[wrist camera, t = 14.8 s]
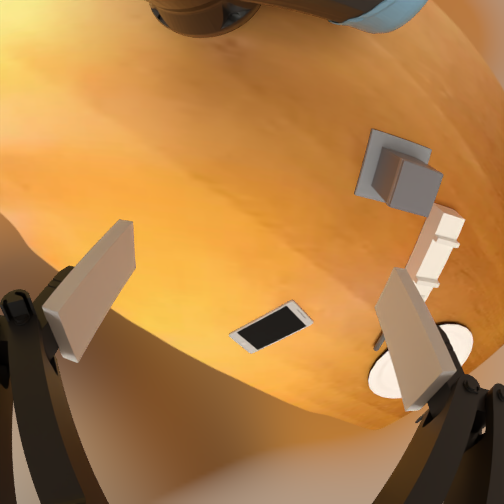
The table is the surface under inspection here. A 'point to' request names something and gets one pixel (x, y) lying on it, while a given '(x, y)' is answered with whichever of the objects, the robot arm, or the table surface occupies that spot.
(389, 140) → the mat
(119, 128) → the table surface
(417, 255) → the power strip
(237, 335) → the smartphone
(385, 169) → the grey block
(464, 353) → the plate
